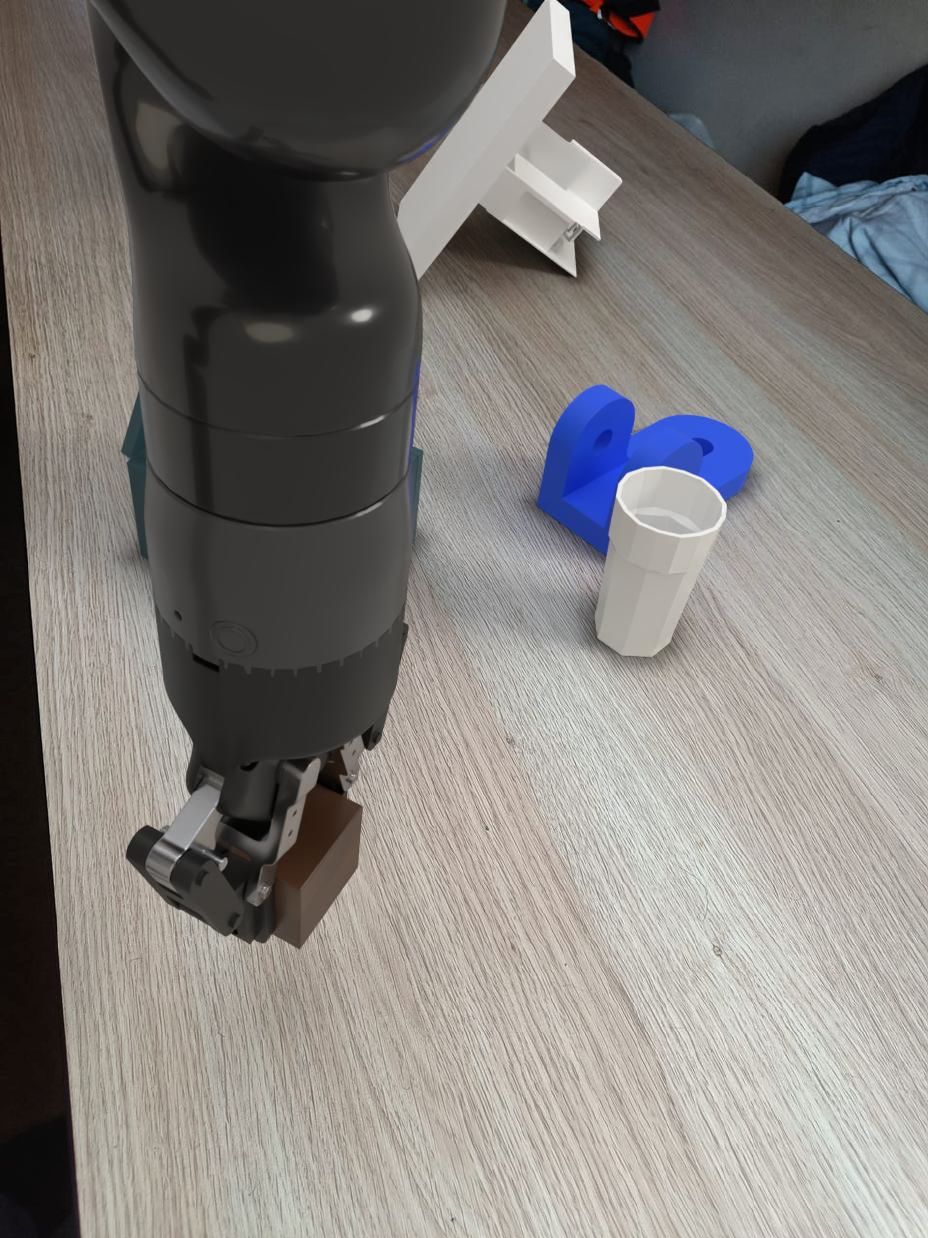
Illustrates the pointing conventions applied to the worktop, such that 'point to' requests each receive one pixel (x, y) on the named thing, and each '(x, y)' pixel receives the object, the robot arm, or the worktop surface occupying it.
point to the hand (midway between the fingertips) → (284, 878)
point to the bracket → (628, 458)
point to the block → (315, 863)
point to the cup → (654, 556)
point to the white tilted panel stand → (513, 157)
